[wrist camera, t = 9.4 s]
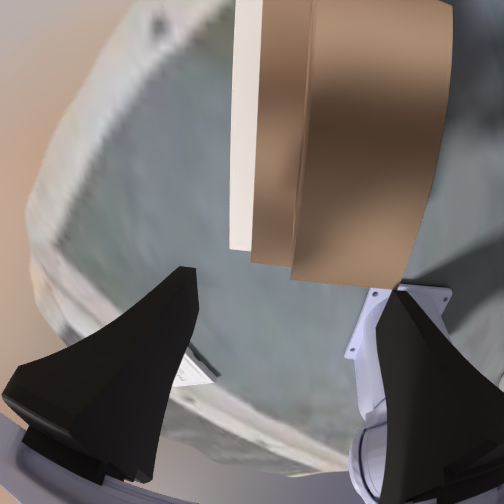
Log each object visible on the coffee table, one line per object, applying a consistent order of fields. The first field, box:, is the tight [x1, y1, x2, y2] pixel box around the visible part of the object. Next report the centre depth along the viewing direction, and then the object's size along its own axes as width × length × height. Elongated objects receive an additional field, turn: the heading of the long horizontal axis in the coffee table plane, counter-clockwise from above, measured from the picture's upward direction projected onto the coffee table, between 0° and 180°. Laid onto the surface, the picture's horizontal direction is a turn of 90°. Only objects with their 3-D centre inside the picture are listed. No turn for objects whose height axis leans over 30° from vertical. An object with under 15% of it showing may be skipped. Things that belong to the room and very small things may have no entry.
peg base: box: [230, 0, 263, 251], centre depth 14 cm, size 20×12×4 cm, turn 178°
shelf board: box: [251, 0, 453, 290], centre depth 10 cm, size 16×8×6 cm, turn 178°
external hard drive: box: [172, 347, 217, 387], centre depth 32 cm, size 2×8×12 cm
